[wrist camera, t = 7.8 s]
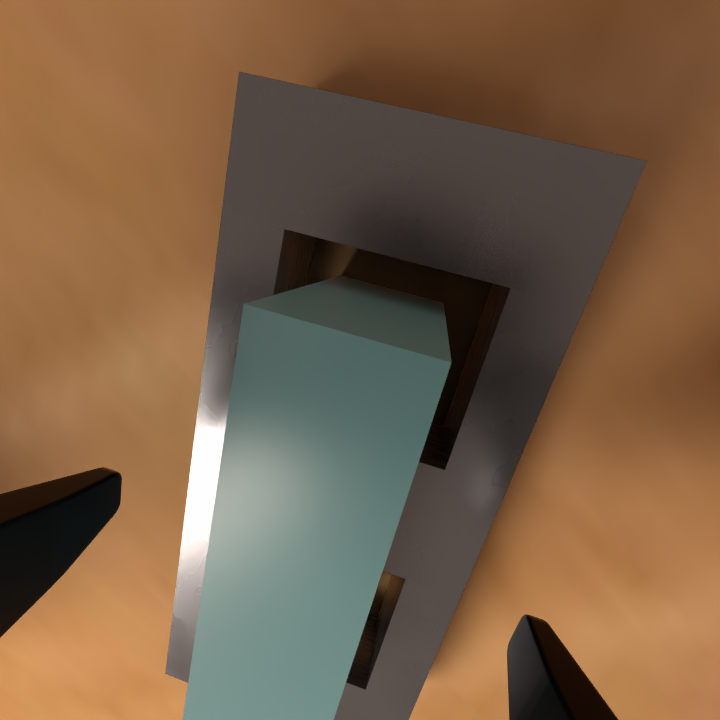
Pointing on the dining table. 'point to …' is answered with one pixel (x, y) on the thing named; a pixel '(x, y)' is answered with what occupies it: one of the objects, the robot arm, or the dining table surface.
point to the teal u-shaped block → (310, 492)
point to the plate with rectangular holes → (425, 247)
